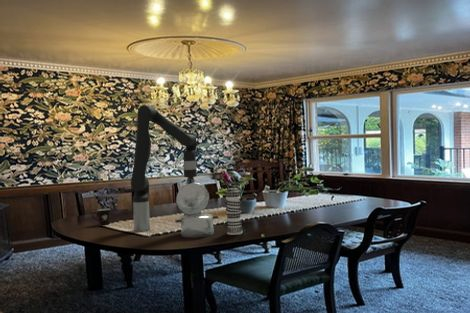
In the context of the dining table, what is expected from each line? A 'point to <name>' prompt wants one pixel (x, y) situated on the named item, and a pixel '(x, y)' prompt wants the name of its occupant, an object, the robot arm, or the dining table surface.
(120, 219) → the dining table surface
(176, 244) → the dining table surface
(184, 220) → the cooking pot
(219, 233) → the dining table surface
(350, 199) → the dining table surface
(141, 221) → the robot arm
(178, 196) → the pot lid
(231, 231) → the decorative candle
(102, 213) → the coffee mug
